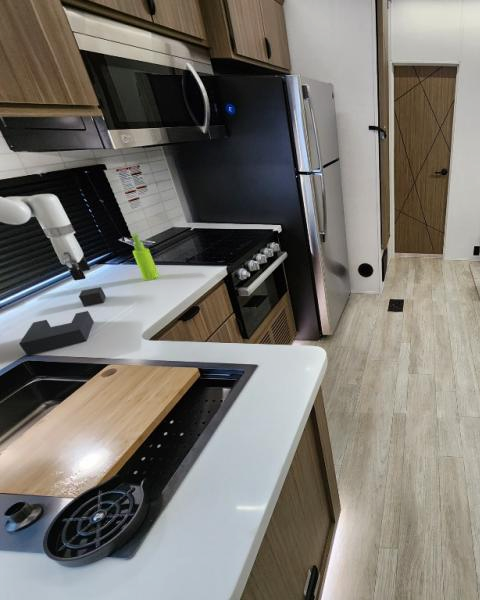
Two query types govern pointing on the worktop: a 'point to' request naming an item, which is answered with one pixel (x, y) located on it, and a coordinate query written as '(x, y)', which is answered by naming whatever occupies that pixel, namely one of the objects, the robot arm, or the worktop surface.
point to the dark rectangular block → (56, 334)
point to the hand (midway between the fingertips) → (82, 274)
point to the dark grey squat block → (92, 296)
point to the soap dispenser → (144, 260)
